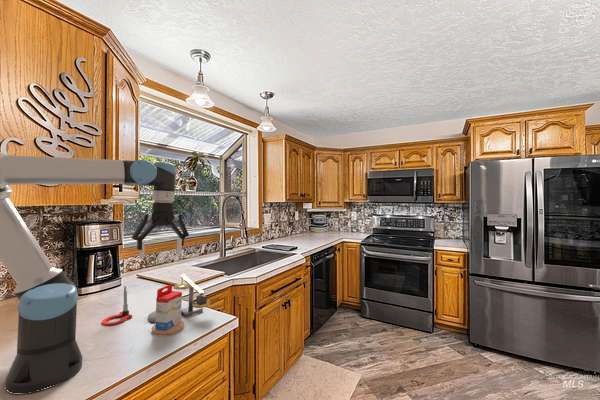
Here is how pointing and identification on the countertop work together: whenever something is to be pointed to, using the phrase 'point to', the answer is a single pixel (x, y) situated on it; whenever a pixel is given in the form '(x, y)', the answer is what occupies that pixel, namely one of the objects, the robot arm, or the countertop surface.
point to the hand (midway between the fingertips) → (161, 256)
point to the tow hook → (124, 313)
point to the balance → (200, 299)
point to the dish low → (169, 330)
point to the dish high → (152, 317)
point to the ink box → (168, 308)
